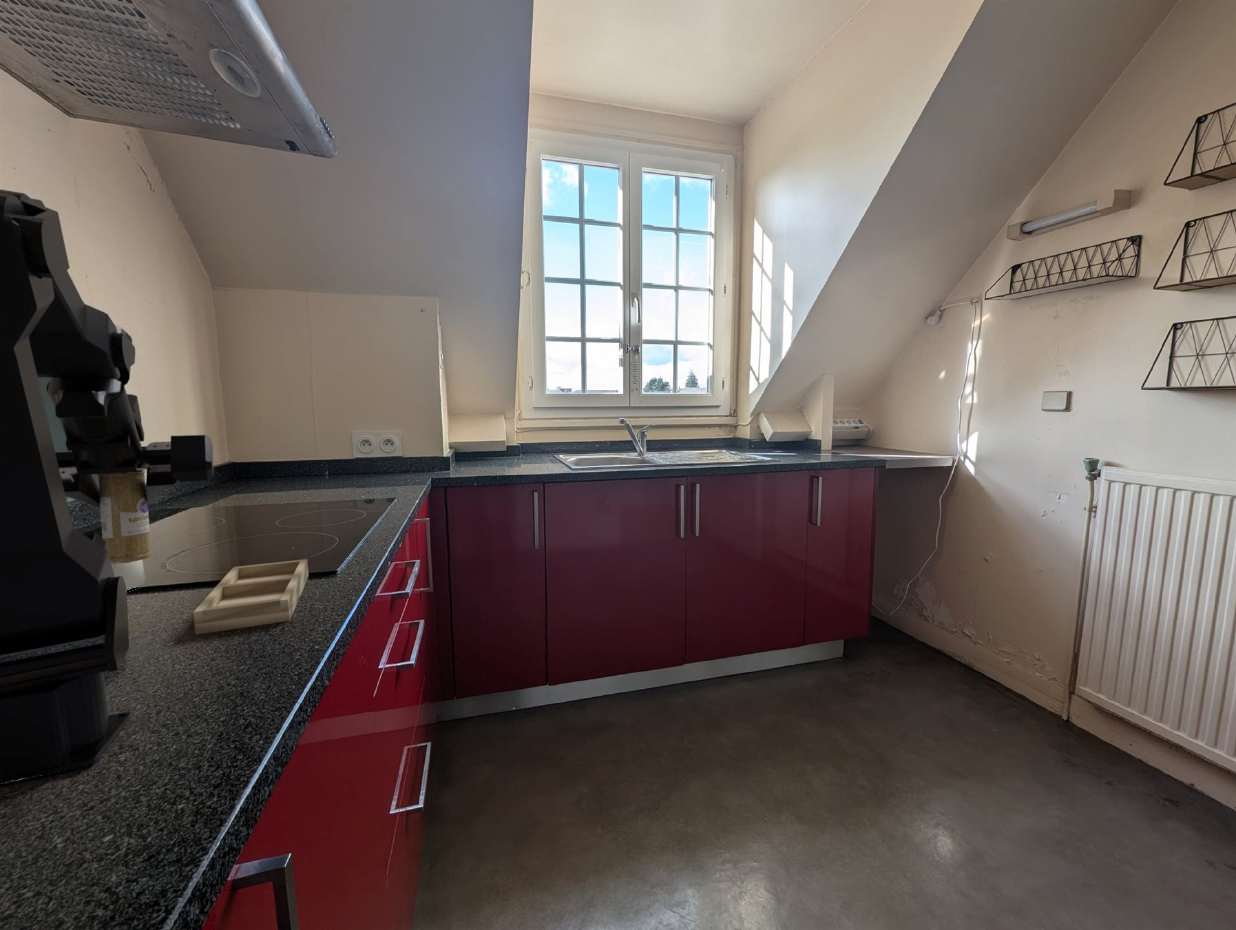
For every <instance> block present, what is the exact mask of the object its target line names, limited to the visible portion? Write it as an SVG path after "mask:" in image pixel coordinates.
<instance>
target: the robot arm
mask: <svg viewBox="0 0 1236 930" xmlns="http://www.w3.org/2000/svg"><path fill="white" fill-rule="evenodd" d="M61 225H62V224H61V220H60V214H59V212H58V211H57V210H55V209H52V208H49V207H46V205H45V204H44V202H43V201H42V199H41V200H40V199H36V198H32V197H30V196H28V194H25V193H23V192H20V191H19V192H18V191H12V190H6V189H0V658H3V657H8V656H14V655H19V654H24V653H25V654H26V653H30V652H35V651H40V650H45V649H51V648H56V647H62V646H67V645H72V644H76V643H77V644H78V643H82V642H88V641H93V640H99V639H102V638H104V642H102V643H97V644H92V645H91V644H90V645H87V646H82V647H76V648H72V649H65V650H61V651H55V652H50V653H44V654H39V655H35V656H30V657H24V658H20V659H19V658H18V659H14V660H10V661H4V662H0V784H1V783H5V782H8V781H9V782H10V781H11V780H18V779H21V778H28V777H29V778H31V779H33V778H32V777H33V776H34V777H35V776H38V775H39V776H40V775H45V776H47V775H46V774H48V773H54V772H55V773H54V774H57V773H56V772H58V771H63V772H67V770H68V771H71V770H72V769H73V770H77V769H80V768H79V767H82V768H85V767H89V766H92V765H93V764H95V763H96V762H98V759H100V758H101V756H102V755H103V753H104V752H105V751H106V750H107V748H108V747H109V746H110V745H111V744H112V742H113V741H114V740H115V738H116V737H117V736H118V735H119V733H120V732H121V731H122V730H123V728H124V727H125V726H126V725H127V723H128V722H129V720H131V712H129V711H125V712H124V711H123V712H120V713H114V714H109V708H108V700H107V692H106V683H105V676H104V673H105V672H108V673H110V672H116V671H120V667H121V665H122V663H123V661H124V659H125V657H126V655H127V653H128V650H129V648H130V636H129V635H130V634H129V633H130V632H129V615H128V614H129V612H128V611H129V608H128V594H127V593H128V592H127V591H126V585H125V581H124V578H123V577H122V576H118V577H115V576H114V572H113V569H112V565H111V561H110V558H109V554H108V551H107V545H106V541H105V540H104V539H103V536H101V535H99V534H98V533H97V532H95V533H88V534H84V533H82V532H80V531H79V530H77V529H75V528H74V526H73V522H72V519H71V515H70V511H69V507H68V502H67V498H70V499H73V500H76V501H79V502H83V503H84V504H87V505H90V506H93V507H95V508H97V509H100V499H99V496H100V489H99V485H98V484H97V483H96V480H95V479H94V477H93V475H97V474H107V473H125V472H137V470H143V471H146V476H145V477H146V479H145V487H146V499H147V503H148V505H152V504H154V502H155V501H156V499H157V497H158V496H159V495H160V493H161V492H162V491H163V490H165V489H167V487H171V486H175V485H177V484H178V483H179V482H181V483H185V482H187V483H188V482H200V481H201V482H202V481H209V480H210V479H212V478H213V477H214V475H215V474H214V457H213V455H214V453H213V441H212V438H211V437H209V436H208V435H206V434H193V435H192V434H190V435H189V434H188V435H187V434H186V435H170V441H153V442H150V443H148V445H144V446H142V444H141V443H142V442H144V441H145V431H144V428H143V424H142V417H141V411H140V409H141V408H140V405H139V399H138V396H137V395H135V394H130V393H127V391H126V388H125V387H126V386H127V384H128V383H129V381H130V378H131V367H132V366H133V365H135V362H136V347H135V345H134V344H133V339H132V338H133V337H132V336H131V335H130V334H129V333H128V332H127V331H126V330H125V329H123V328H122V327H121V326H119V325H117V324H115V323H114V322H113V320H112V318H111V317H110V315H109V314H108V313H106V312H105V311H103V310H101V309H98V308H95V307H93V306H91V305H89V304H86V303H85V302H84V300H83V299H82V297H81V295H80V293H79V291H78V289H77V287H76V285H75V284H74V283H75V282H74V281H73V280H72V277H71V275H70V273H69V271H68V270H69V269H70V264H69V263H70V262H69V258H68V253H67V250H66V249H67V248H66V244H65V239H64V235H63V229H62V226H61ZM39 378H51V379H50V380H49V381H48V382H47V385H46V392H47V395H48V397H49V399H50V401H51V405H52V406H53V409H54V413H55V417H56V418H57V419H58V421H59V423H60V426H61V428H62V431H63V433H64V436H65V438H66V440H65V446H66V447H65V448H66V449H67V451H61V452H60V451H59V452H58V451H57V452H56V450H55V446H54V442H53V437H52V432H51V429H50V425H49V420H48V416H47V415H48V414H47V412H46V408H45V402H44V399H43V394H42V389H41V385H40V382H39ZM66 497H67V498H66ZM88 765H89V766H88ZM75 768H76V769H75ZM70 769H71V770H70ZM64 770H66V771H64ZM40 777H41V776H40Z"/></svg>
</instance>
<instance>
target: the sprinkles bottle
mask: <svg viewBox="0 0 1236 930" xmlns="http://www.w3.org/2000/svg"><path fill="white" fill-rule="evenodd" d="M145 473H146V470H137V472H125V473H107V474H96V475H97V476H98V487H99V489H100V496H99V499H100V508H99V509H100V511H99V512H100V521H101V533H102V536H101V537H102V538H103V537H104V540H105V541H106V545H107V551H108V554H109V558H110V561H111V563H112V564H116V563H129V562H134V561H139V560H143V561H144V560H146V559H148V558H150V557H151V556H152V554H153V553H152V551H151V541H150V540H151V539H150V530H151V529H150V517H149V503H148V502H147V496H146V479H145V477H146V476H145V475H146V474H145Z"/></svg>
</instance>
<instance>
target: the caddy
mask: <svg viewBox="0 0 1236 930" xmlns="http://www.w3.org/2000/svg"><path fill="white" fill-rule="evenodd" d="M308 579H309V565H308V558H306V559H298V560H297V559H296V560H288V561H287V560H285V561H279V562H269V563H259V564H249V565H240V566H239V565H238V566H233V567H232V569H230V571H228V572H227V574H226V575H225V576H224V577H223V578H222V579H221V580H220V582H219V583H218V584H217V585H216V586H215V587H214V588H213V589H212V590H211V591H210V593H209V594H208V595H207V596H206V597H205V599H203V600H202V601H201V603H200V604H199V605H198V606H197V607H196V608H195V609H194V611H192V612H193V621H194V623H193V624H194V631H195V635H202V634H208V633H216V632H223V631H229V630H235V629H241V628H242V629H243V628H244V629H245V628H250V627H257V626H263V625H271V624H278V623H283V622H290V621H291V619H292V617H293V615H294V612H295V610H296V607H297V605H298V602H299V600H300V596H302V593H303V591H304V587H305V586H306V583H307V582H308Z"/></svg>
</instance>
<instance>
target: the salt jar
mask: <svg viewBox="0 0 1236 930" xmlns="http://www.w3.org/2000/svg"><path fill="white" fill-rule="evenodd" d="M102 538H103V539H104V537H103V536H102ZM143 561H144V559H143V560H139V561H134V562H129V563H116V564H112V563H111V565H112V569H113V572H114V576H115V577H118V576H122V577H123V578H124V581H125V585H126V591H127V590H130V589H132V588H136V587H139V586H140V585H142V584H143V583H145V584H146V577H145V569H144V568H145V567H144V562H143Z"/></svg>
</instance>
